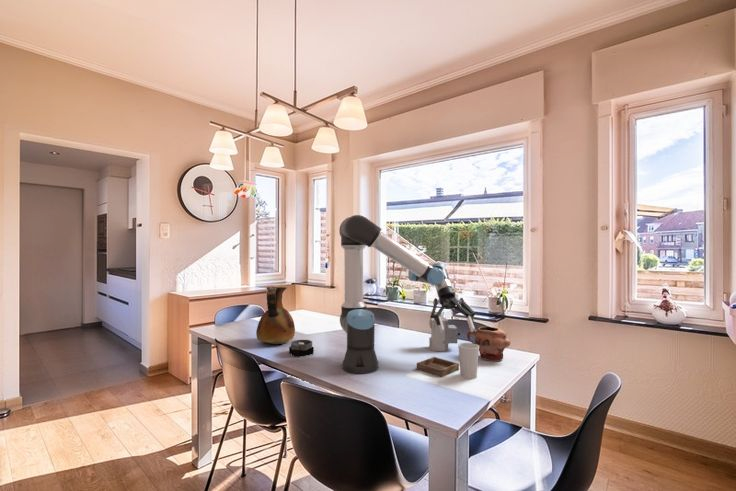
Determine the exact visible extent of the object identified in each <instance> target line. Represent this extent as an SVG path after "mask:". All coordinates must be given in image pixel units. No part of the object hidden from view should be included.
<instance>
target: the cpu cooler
mask: <svg viewBox="0 0 736 491" xmlns="http://www.w3.org/2000/svg"><path fill="white" fill-rule="evenodd" d="M288 349H289V350H288V352H289V355H291V354H292V356H293V355H294V356H293V357H295V356H298V357H297V358H300V357H299V356H303V357H306V355H308V356H311V355H310V354H312V355H314V354H313V353H314V352H315V351H314V346H313V341H312V340H309V339H297V340H296V339H295V340H293V341H291V342H290V346H288Z"/></svg>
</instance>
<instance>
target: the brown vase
mask: <svg viewBox="0 0 736 491" xmlns="http://www.w3.org/2000/svg"><path fill="white" fill-rule="evenodd" d="M265 289H266V290H267V291H266V305H267V310H266V311H264V313H263V314H262V316H261V317H260V319H259V322H258V323H257V326H256V330H255V331H256V333H255V334H256V339H257V340H258V341H260V342H262V343H268V344H274V345H275V344H277V345H279V344H281V345H282V344H286V343H288V342H289V341H291V340H292V339H294V337H295V333H296V328H295V326H296V325H295V322H294V318H293V316H292V314H290V312H289V311H288V310H287V309H286V308H284V306H283V293H284V292H285V290H287V289H288V287H286V286H285V287H284V286H274V285H273V286H268V287H267V286H266V287H265Z"/></svg>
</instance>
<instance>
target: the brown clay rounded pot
mask: <svg viewBox="0 0 736 491" xmlns="http://www.w3.org/2000/svg"><path fill="white" fill-rule="evenodd" d="M471 335H475V337H474V341H472V339H471ZM507 336H508V335H507V333H506V332H505V331H504V330H502V329H501V328H499V327H493V326H480V327H478V328H477V329H474V331H473V332H471V330H470V329H469V330H468V331H467V333H466V337H467V340H468V341H469V343H473V344H477V345H478V346H479V357H480V358H481V359H482V360H486V361H492V362H501V361H502V360H503V359H504V350H505V349H506V348H508V347H510V345H511V340H510V339H508V337H507Z"/></svg>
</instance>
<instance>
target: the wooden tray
mask: <svg viewBox="0 0 736 491" xmlns="http://www.w3.org/2000/svg"><path fill="white" fill-rule="evenodd" d="M416 370H418V371H421V372H424V373H427V374H430V375H433V376H436V377H439V378H444V377H446V376H448V375H450V374H453V373H455V372H457V371H460V363H459V362H454V361H451V360H447V359H443V358H440V357H436V356H432V357H430V358H427V359H424V360H421V361H419V362H416Z"/></svg>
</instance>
